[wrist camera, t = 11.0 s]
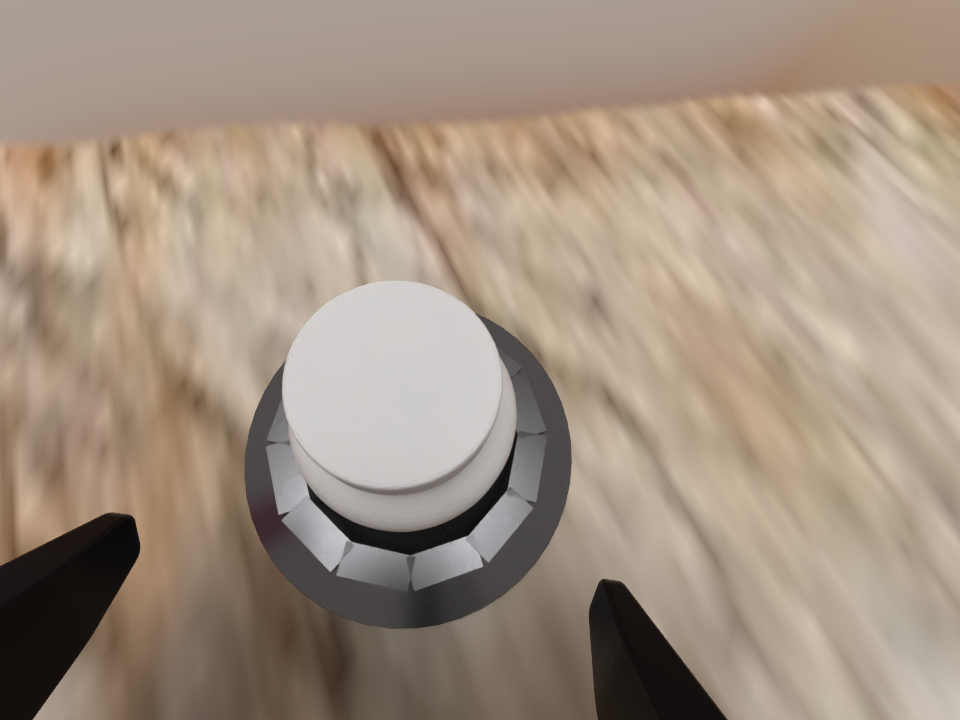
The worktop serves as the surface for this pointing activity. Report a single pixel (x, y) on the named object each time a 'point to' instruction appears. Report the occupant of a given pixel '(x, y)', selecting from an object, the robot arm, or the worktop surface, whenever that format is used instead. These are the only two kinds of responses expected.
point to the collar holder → (425, 553)
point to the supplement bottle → (398, 406)
